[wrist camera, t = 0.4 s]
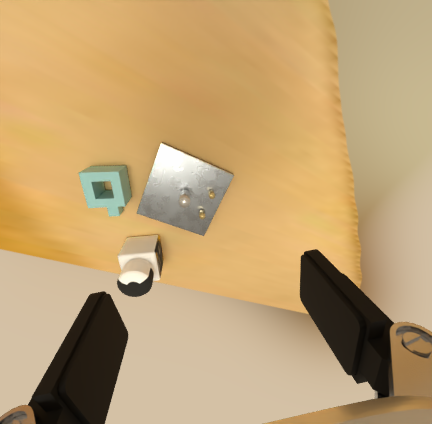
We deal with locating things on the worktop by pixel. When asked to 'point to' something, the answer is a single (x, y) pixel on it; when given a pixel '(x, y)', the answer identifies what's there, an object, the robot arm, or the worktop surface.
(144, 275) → the medicine bottle
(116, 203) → the teal hollow square block
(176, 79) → the worktop surface
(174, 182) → the post base
